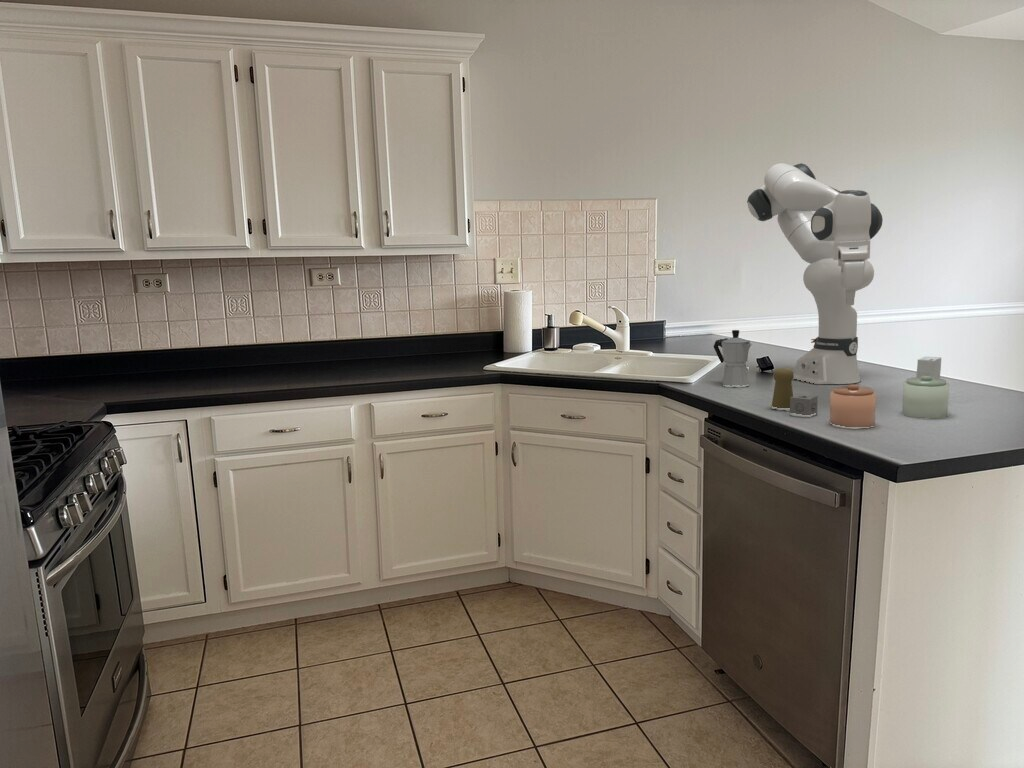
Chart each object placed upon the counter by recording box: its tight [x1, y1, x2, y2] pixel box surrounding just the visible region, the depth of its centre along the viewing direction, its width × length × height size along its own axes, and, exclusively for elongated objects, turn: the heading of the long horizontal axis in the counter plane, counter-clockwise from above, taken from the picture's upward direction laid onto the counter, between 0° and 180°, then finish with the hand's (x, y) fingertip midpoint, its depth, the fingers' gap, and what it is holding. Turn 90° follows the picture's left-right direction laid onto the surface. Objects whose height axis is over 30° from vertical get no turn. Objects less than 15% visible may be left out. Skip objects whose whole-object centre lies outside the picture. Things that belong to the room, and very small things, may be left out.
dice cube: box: [789, 393, 819, 415], centre depth 188 cm, size 5×5×5 cm
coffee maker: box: [713, 329, 753, 386], centre depth 232 cm, size 15×9×18 cm, turn 34°
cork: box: [771, 368, 794, 408], centre depth 196 cm, size 6×6×11 cm
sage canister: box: [901, 376, 950, 420], centre depth 182 cm, size 10×10×10 cm
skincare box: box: [916, 356, 942, 379], centre depth 195 cm, size 6×4×12 cm
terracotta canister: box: [829, 383, 877, 427], centre depth 175 cm, size 10×10×10 cm
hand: (849, 305), depth 194 cm, fingers closed
